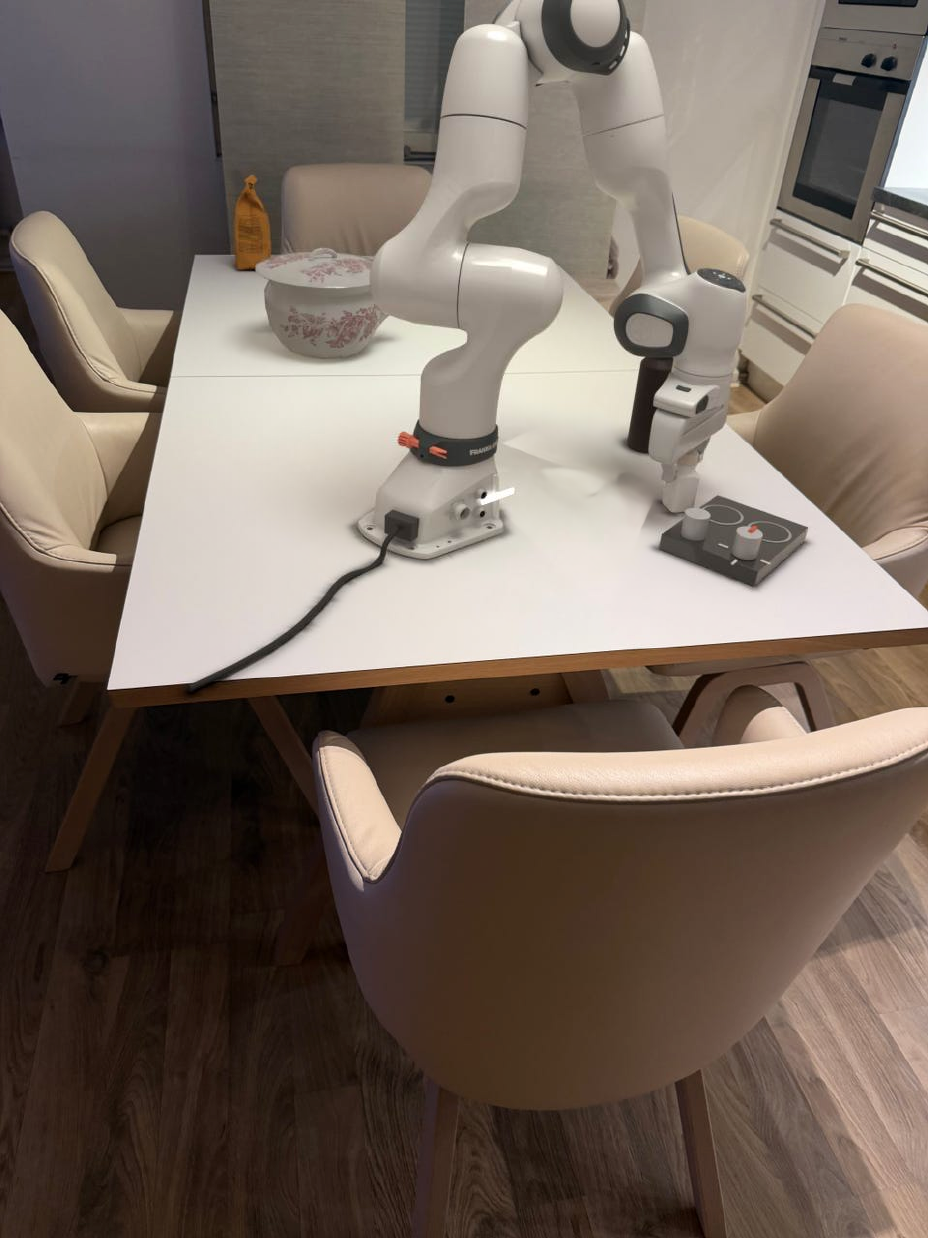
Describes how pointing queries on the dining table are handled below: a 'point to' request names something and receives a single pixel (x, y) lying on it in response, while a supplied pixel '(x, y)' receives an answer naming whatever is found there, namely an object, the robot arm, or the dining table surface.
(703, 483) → the dining table surface
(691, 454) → the pepper shaker
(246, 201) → the coffee package
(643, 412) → the bottle
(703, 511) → the hob zones
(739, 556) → the hob knob
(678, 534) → the hob
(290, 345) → the chamber pot
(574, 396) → the dining table surface
